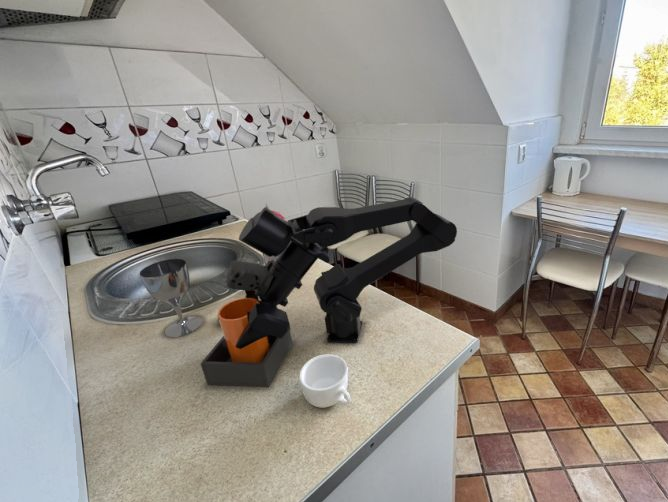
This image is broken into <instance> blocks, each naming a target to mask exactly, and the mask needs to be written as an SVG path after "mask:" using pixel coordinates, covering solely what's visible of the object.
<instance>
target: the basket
mask: <svg viewBox="0 0 668 502" xmlns="http://www.w3.org/2000/svg"><path fill="white" fill-rule="evenodd" d="M268 340H269V345H270V350H269V352H268V354H267V355H266V357H265V359H264V360H263V362H262V363H247V362H232V361H231V358H230V355H229V351H228V348H227V345H226V342H225V338H224V335H223V336H222V337H221V338H220V339H219V341H218V342H217V343H216V344H215V345H214V346H213V348H212V349H211V350H210V351H209V353H208V354H206V357H204V359H203V360H202V361H201V362H200V367H201V370H202V372H203V376H204V379H205V382H206V384H207V386H226V387H227V386H228V387H258V388H259V387H260V388H261V387H262V388H269V387H270V386H271V384H272V382H273V380H274V379H275V376H276V375H277V372H278V371H279V369H280V367H281V365H282V363H283V361H284V359H285V358H286V356H287V354H288V352H289V350H290V348H291V346H292V345H293V339H292V333H291V330H290V331H289V332H288V333H287V334H286V336H285V337H284V338H282V339H280V338H278V337H275V336H273V335H269V336H268Z"/></svg>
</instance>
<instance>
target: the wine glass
mask: <svg viewBox="0 0 668 502" xmlns="http://www.w3.org/2000/svg"><path fill="white" fill-rule="evenodd" d="M188 267H189V266H188V265H187V262H186V260H184V259H182V258H181V259H180V258H171V259H165V260H164V259H163V260H159V261H157V262H154V263H151V264H150V265H147V266H146V267H144V268H142V270H140V271H139V278H140V279H141V283H142V284H143V286H144V288H145V289H146V291H147V292H148V294H149V296H151V297H152V298H153V299H155V300H157V301H160V302H163V303H166V304H168V305H170V306H171V307H172V308H173V309H174V311H175V313H176V315H177V317H178V320H175V321H174V322H172V323H170V324H169V325H168V326H167V327H166V328H165V330H164V335H165V336H166V337H168V338H179V337H183V336H186V335H188V334H191V333H193V332H195V331H197V329H199V328H200V327H201V326H202V324H203V319H202V318H201V317H199V316H195V315H193V316H187V317H184V315H183V312H182V307H181V303H182V300H183V298H184V297H185V295H186V293H187V292H188V291H189V288H190V282H191V281H190V280H191V278H190V272H189V268H188Z"/></svg>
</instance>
